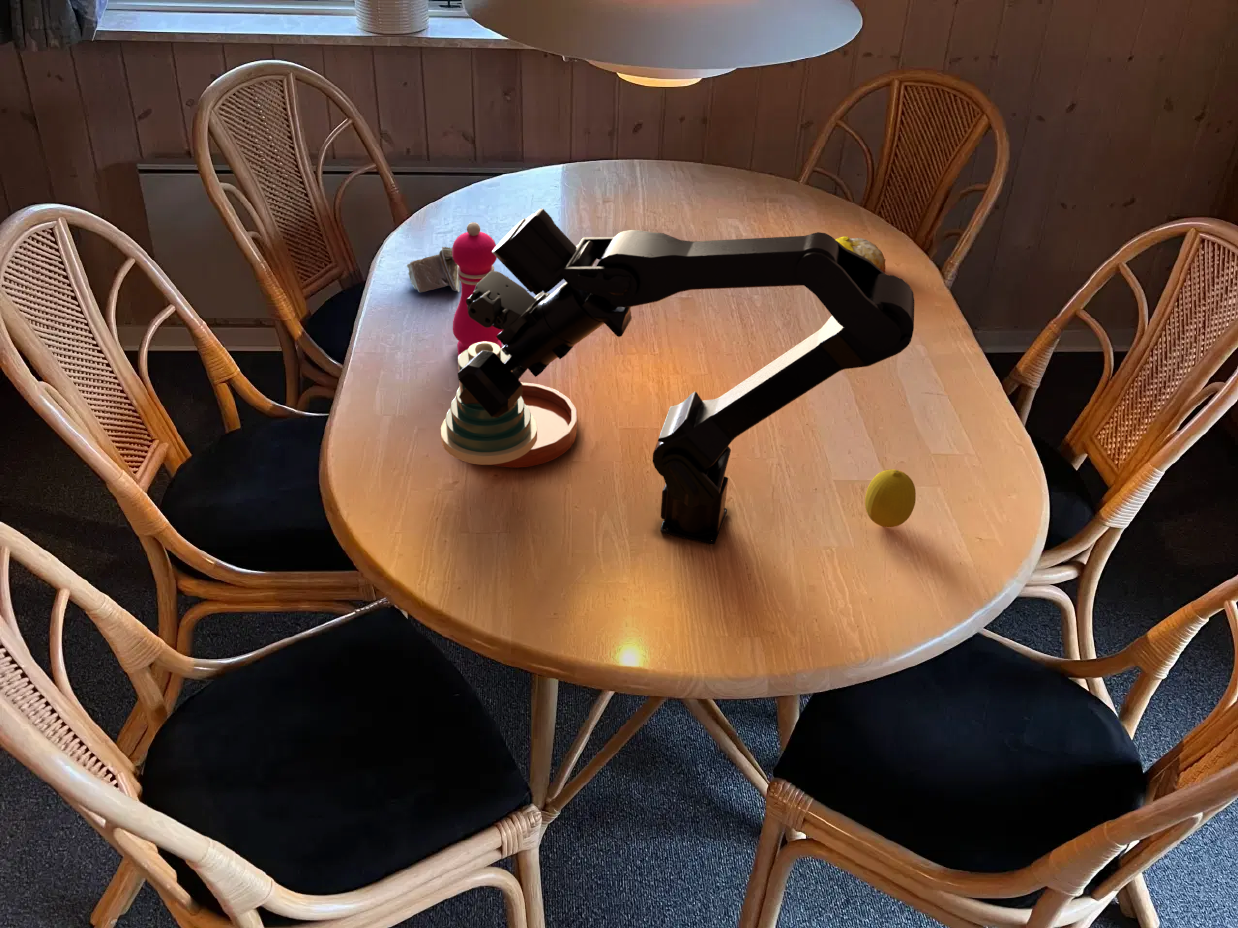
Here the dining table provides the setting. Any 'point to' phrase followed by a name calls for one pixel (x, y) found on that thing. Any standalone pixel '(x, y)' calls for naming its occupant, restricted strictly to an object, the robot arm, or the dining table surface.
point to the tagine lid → (486, 424)
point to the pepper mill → (472, 284)
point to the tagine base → (547, 425)
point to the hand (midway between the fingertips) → (475, 385)
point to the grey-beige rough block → (434, 272)
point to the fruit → (864, 250)
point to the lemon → (890, 498)
